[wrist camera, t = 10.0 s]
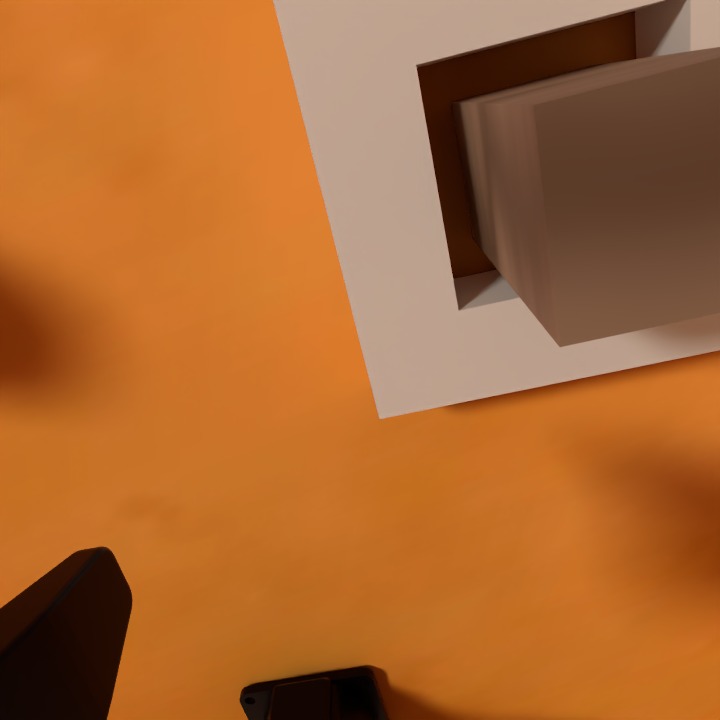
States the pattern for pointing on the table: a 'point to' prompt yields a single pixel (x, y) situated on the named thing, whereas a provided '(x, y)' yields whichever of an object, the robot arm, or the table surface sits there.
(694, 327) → the well block
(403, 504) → the table surface
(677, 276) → the walnut post
